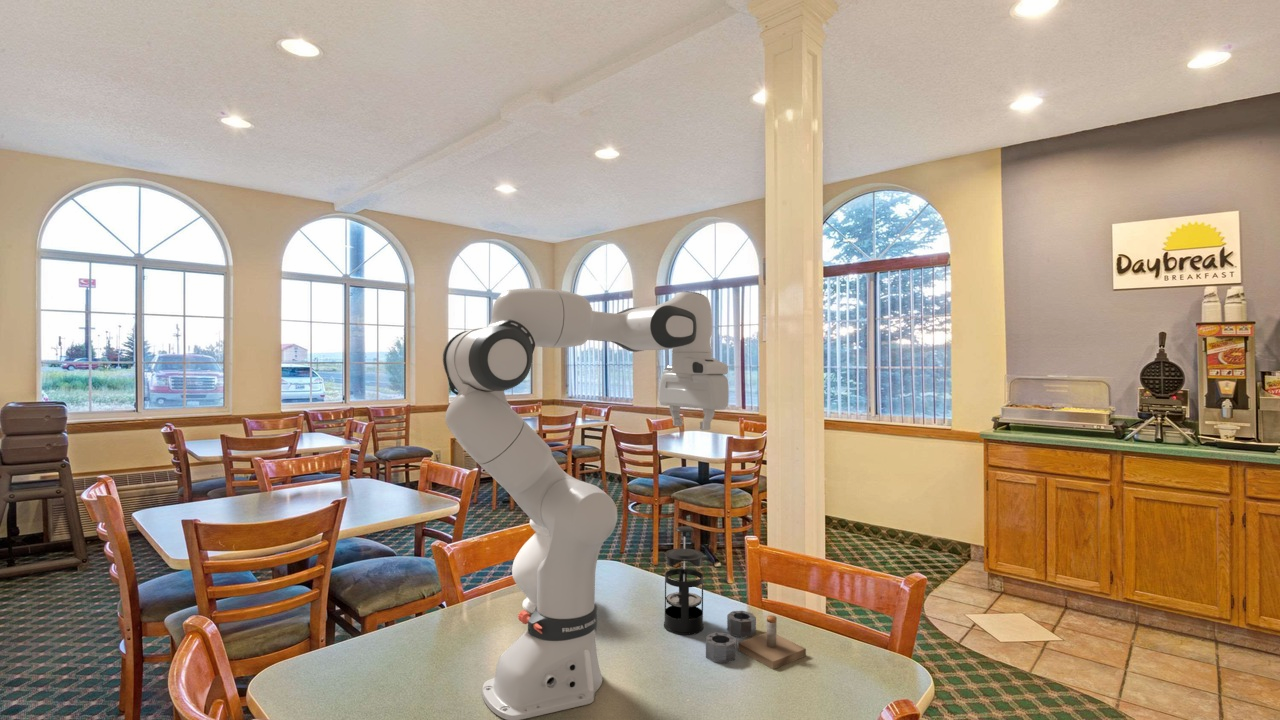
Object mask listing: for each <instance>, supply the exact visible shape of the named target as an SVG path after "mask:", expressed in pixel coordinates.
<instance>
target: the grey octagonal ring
mask: <svg viewBox="0 0 1280 720" xmlns="http://www.w3.org/2000/svg"><path fill="white" fill-rule="evenodd" d="M726 617H727V620H726V622H727V625H726V626H727V627H726V630H727V633H728V634H729V635H731V636H733V637H737V638H752V637H754V635H755V634H756V633H757V617H756V615H754V613H752V612H749V611H745V610H732V611H730V612H729V613H728V614H727V616H726Z"/></svg>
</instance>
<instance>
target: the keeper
mask: <svg viewBox="0 0 1280 720" xmlns="http://www.w3.org/2000/svg"><path fill="white" fill-rule="evenodd" d="M777 622H778V621H777V616H775V615H771V614H770V615H767V616H766V632H764V633H761V634H759V635H756V636H752V637H749V638H747V639H744V640H741V641H739V642H737V650H738V651H739V652H741V653H743V654H744V655H746V656H748V657H750V658H752V659H754V660H756V661H757V662H759V663H761V664H763V665H764V666H767V667H768V668H770V669H772V670H774V669H777V668H779V667H781V666H784V665H787V664H789V663H792V662H794V661H796V660H799V659H801V658H803V657H807V649H806V648H805V647H803V646H801V645H799V644H797V643H795V642H793V641H791V640H789V639H787V638H786V637H783V636H781V635H779V634H777Z"/></svg>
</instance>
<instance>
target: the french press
mask: <svg viewBox="0 0 1280 720" xmlns="http://www.w3.org/2000/svg"><path fill="white" fill-rule="evenodd" d="M675 531H677V532H680V533H682V537H683V547H682V548H672V549H668V550H667V551H665V554H664V555H665V557H666V564H667V565H668V566H669V567H674V566H676V565H677V564H680V563H682V562H683V567H682V566H680V567H679V568H672V569H670V570H667V571H666V572H665V574H664V621H663V628H664V629H665V630H666V631H668V632H669V633H672V634H675V635H681V636H690V635H696V634H698V633H701V632H702V631H703V629H704V627H705V626H704V573H702V572H701V571H699V570H695V569H691V568H687V566H686V562H688V563H690V564H693V566H696V567H700V566H702V560H703V558H704V552H702V551H700V550H697V549H692V548H686V537H687V535H688V533H691V532H693V531H694V528H692V527H690V526H678V527H676V528H675ZM676 575H678V580H676V579H672V578H670V577H672V576H676ZM687 575H689V576H694V577H697V578H699V579H696V580H690V581H688V576H687ZM667 584H668V585H669V586H673V587H675V588H676V587H678V591H676V592H672V593H670V594H668V595H667ZM699 586H701V596H700V595H698V594H696V593H692V592H690V588H694V587H696V588H697V587H699ZM667 604H668V605H669V606H668V607H667ZM700 605H701V607H700V608H699V607H698V606H700Z"/></svg>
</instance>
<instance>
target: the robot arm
mask: <svg viewBox="0 0 1280 720" xmlns="http://www.w3.org/2000/svg"><path fill="white" fill-rule="evenodd" d="M712 335H713V315H712V308H711V302H710V300H709V298H708V297H707V296H706V295H705V294H702V293H699V292H695V291H680V292H677V293H676V294H675V296H673V298H671V299H669V300H667V301H665V302H662V303H659V304H657V305H649V306H642V307H629V308H626V309H624V310H621V311H619V312H617V313H612V312H606V311H605V312H604V311H596V310H593V307H592V305H591V303H590V301H588V299H587V298H586V297H585V296H582V295H581V294H577V293H574V292H572V291H571V292H570V291H565V290H561V289H551V288H542V287H541V288H538V287H537V288H536V287H535V288H529V287H528V288H515V289H509V290H505V291H503V292H502V293H501V294H499V295H498V297H497V298H496V299H495V301H494V304H493V306H492V309H491V319H490V322H489V324H488V325H487V326H486V327H478V328H473V329H471V330H465V331H462V332H459V333H457V334H456V335H454V336H453V337H452V338H451V339H450V340H449V341H448V343H447V344H446V345H445V347H444V349H443V353H442V364H443V369H444V372H445V374H446V377H447V380H448V385H449V389H450V391H451V392H452V393H453V394H455V395H456V396H455V397H454V398H453V399H452V401H451V402H450V403H449V404H448V407H447V409H446V412H445V416H444V417H445V424H446V427H447V428H448V429H449V432H451V434H452V435H453V437H454V438H455V440H456V441H457V443H458V444H459V445H460V446H461V447H462V448H463V450H464V451H465V452H466V453H467V454H468V455H469V456H470V457H471V459H473V460H474V462H476V463H477V465H479V466H480V467H481V468H482V469H483V470H484V471H485V472H486V473H487V474H488V475H490V477H492V479H493V480H495V481H496V482H497V484H499V485H500V486H501V487H502V488H503V489H504V490H505V491H506V492H507V493H508V494H509V495H510V497H511V498H512V499H513V500H514V502H515V503H516V504H517V505H518V507H519V508H520V509H521V510H522V511H523V513H525V515H527V516H528V518H529V520H530V519H531V520H532V521H533V522H534V523H535V524H537V525H538V526H540V527H542V528H544V529H546V530H548V531H549V534H550V542H549V547H548V551H547V554H546V557H545V559H544V560H543V561H542V562H541V563H540V565H539V567H538V570H537V606H536V608H535V610H534V612H533V613H531V614H530V612H528V611H526V610H525V609H522V610H521V611H519V613H518V615H517V619H518V620H519V621H520V623H522V624H523V625H527V629H526V631H524V632H523V634H521V635H520V636H519V637H518V638H517V639H516V640H515V641H514V642H513V643H512V644H511V645H510V646H509V647H508V648H506V650H505V651H504V652H503V653H502V654H501V655H500V656H499V657H498V661H497V663H496V668H495V673H494V677H492V678H491V679H488V680H485V681H484V683H483V686H482V690H481V696H482V699H483V701H484V703H485V704H486V706H487V707H488V709H490V711H492V713H494V714H495V715H496V716H498V717H500V718H501V719H504V720H526V719H529V718H534V717H538V716H543V715H547V714H551V713H556V712H561V711H565V710H568V709H572V708H577V707H582V706H586V705H589V704H592V703H593V702H594V700H595V694H596V692H597V691H598V690H599V689H600V688H601V686H602V683H603V676H602V673H601V669H600V664H599V657H598V653H597V652H598V651H597V643H596V631H597V625H598V624H597V623H598V614H597V613H598V612H597V610H598V609H597V605H596V603H595V601H596V600H595V599H596V598H595V597H596V595H595V594H596V593H595V592H596V591H595V590H596V568H597V563H598V559H599V555H600V552H601V548H602V547H603V546H602V545H603V544H604V542H605V541H606V540H608V539H609V537H610V536H611V535H612V533H614V531H615V528H616V525H617V522H618V508H617V506H616V503H615V501H614V499H613V498H612V497H611V496H609V494H608V493H606V492H605V491H604V490H603V489H601V488H600V487H598V486H597V485H595V484H592V483H589V482H586V481H584V480H580V479H578V478H575V477H574V476H572V475H570V474H568V473H567V472H566V471H564V469H562V466H560V464H559V463H558V462H557V460H556V459H555V457H554V456H553V452H552V449H551V447H550V446H549V445H548V443H546V441H545V440H544V439H543V438H541V436H540V435H539V434H538V433H537V431H535V430H534V429H533V428H532V427H531V425H530V424H528V423H527V422H526V421H525V420H524V419H523V418H522V417H521V415H519V414H518V412H516V411H515V410H514V409H513V408H512V406H511V405H510V404H509V402H508V399H507V397H506V393H505V391H507V390H511V389H513V388H515V387H517V386H519V385H520V384H521V383H522V382H523V381H524V380H525V379H526V378H527V376H528V374H529V373H530V370H531V369H532V368H531V367H532V363H533V353H534V351H535V348H536V347H537V348H539V347H540V348H553V349H554V348H555V349H559V348H573V347H578V346H582V345H584V344H585V343H587V341H597V342H598V341H599V342H609V343H613V344H615V345H617V346H618V347H621V348H622V349H624V350H626V351H628V352H632V353H636V352H644V351H661V350H664V351H665V350H666V351H667V350H671V349H672V350H671V365H667V366H665V368H664V369H663V371H662V375H661V377H660V381H659V389H658V402H659V404H660V405H661V406H669V413H670V415H671V417H672V426H674V427H682V426H683V424H684V422H683V421H684V420H683V419H684V418H681V414H680V411H681V407H682V408H691V409H700V410H702V414H703V415H704V416H703V419H702V421H700V422H699V429H700V430H702V431H709V430H711V425H712V424H711V423H712V421H713V419H714V417H715V411H721V410H726V409H727V407H728V405H729V394H730V393H729V381H728V380H729V379H728V378H727V376H726V375H727V374H728V373H729V366H728V364H726V363H724V362H722V361H720V360H718V359H716V358H714V357H713V356H712V355H713V351H712V350H713V349H712V347H711V346H712V345H711V337H712Z"/></svg>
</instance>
